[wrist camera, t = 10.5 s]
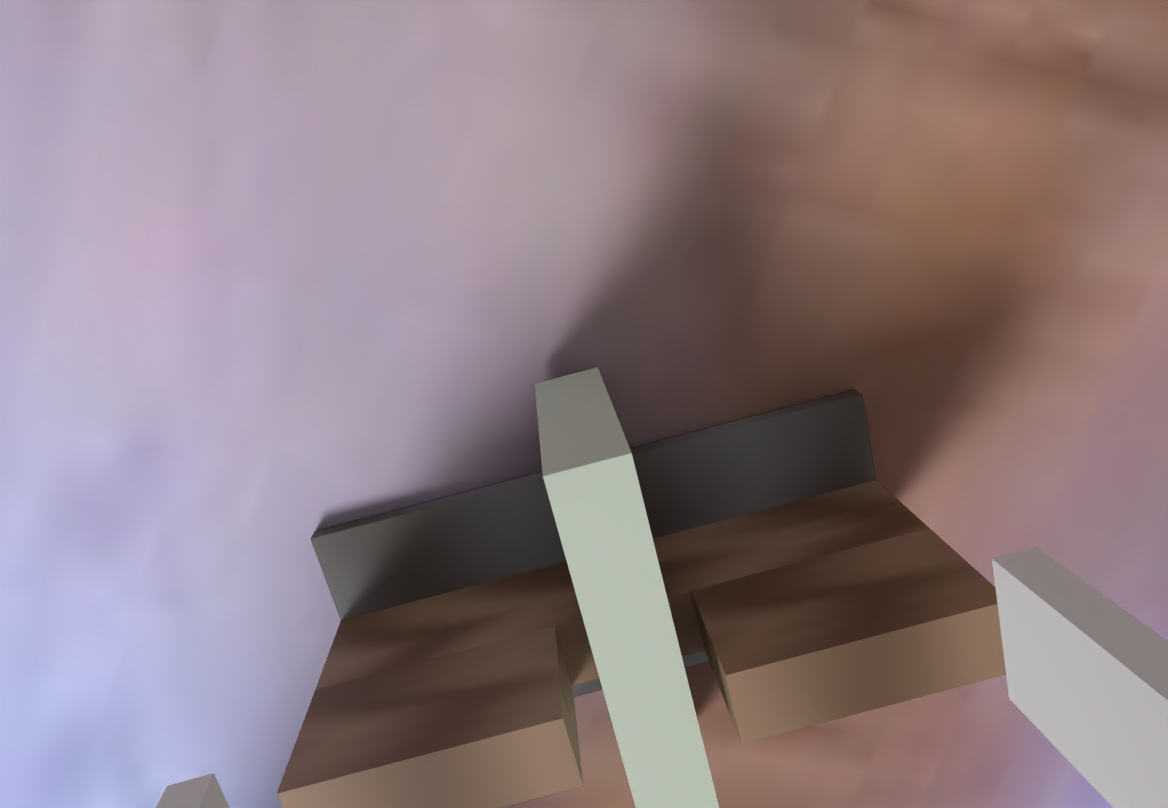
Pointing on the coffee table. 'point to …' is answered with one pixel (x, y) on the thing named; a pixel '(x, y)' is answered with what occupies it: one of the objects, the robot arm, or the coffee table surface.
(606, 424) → the pale green upright panel
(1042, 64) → the coffee table surface
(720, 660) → the brown piece
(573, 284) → the coffee table surface
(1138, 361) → the coffee table surface
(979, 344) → the coffee table surface
